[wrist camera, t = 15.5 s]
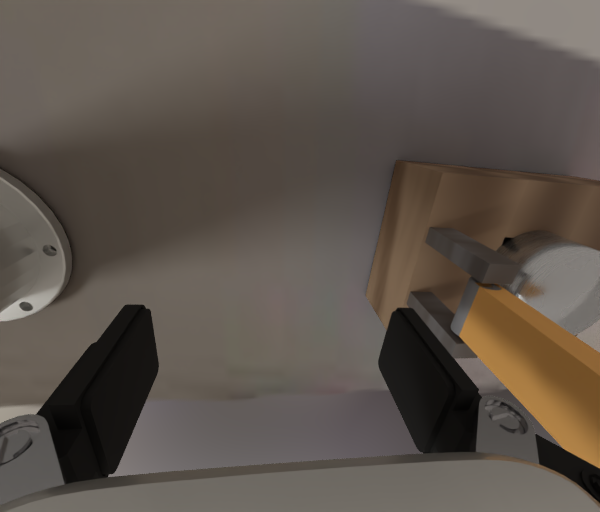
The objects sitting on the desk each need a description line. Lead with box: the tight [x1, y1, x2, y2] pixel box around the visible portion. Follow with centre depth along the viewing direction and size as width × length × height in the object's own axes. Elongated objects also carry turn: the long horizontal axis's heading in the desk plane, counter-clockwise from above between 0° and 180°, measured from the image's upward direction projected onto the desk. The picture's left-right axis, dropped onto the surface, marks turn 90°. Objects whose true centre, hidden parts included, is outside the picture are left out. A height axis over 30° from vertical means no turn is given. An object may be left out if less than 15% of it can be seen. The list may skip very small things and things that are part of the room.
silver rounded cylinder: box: [496, 230, 600, 335], centre depth 20 cm, size 6×6×9 cm
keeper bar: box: [450, 276, 600, 468], centre depth 11 cm, size 9×3×1 cm
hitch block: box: [366, 160, 600, 358], centre depth 20 cm, size 16×12×11 cm
